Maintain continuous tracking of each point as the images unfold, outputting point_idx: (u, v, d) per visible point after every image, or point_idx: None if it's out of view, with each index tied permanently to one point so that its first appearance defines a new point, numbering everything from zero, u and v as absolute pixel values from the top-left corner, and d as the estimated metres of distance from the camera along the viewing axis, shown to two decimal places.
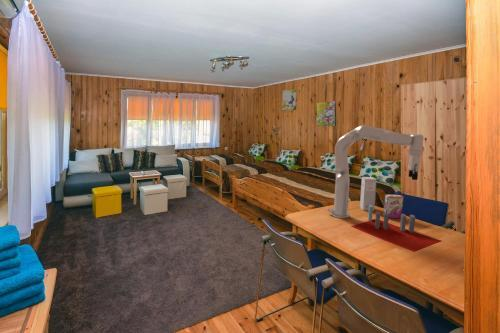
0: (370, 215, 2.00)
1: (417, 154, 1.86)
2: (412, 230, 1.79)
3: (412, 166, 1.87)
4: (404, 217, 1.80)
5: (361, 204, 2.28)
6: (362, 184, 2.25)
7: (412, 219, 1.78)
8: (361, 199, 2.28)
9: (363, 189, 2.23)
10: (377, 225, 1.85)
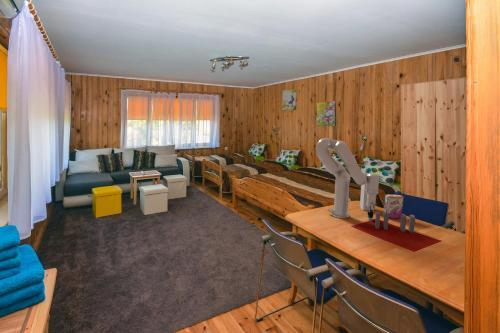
0: None
1: (373, 193, 1.96)
2: (412, 230, 1.79)
3: (368, 204, 1.97)
4: (404, 217, 1.80)
5: (361, 204, 2.28)
6: None
7: (412, 219, 1.78)
8: (361, 199, 2.28)
9: (363, 189, 2.23)
10: (377, 225, 1.85)
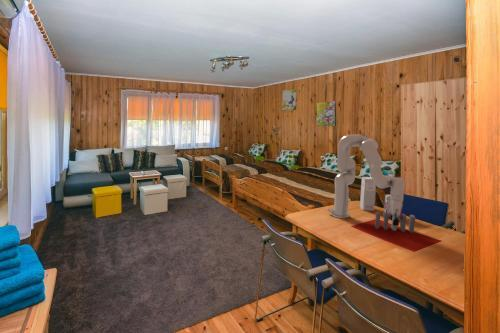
0: None
1: (398, 199, 1.78)
2: (412, 230, 1.79)
3: (393, 211, 1.79)
4: (404, 217, 1.80)
5: (361, 204, 2.28)
6: (362, 184, 2.25)
7: (412, 219, 1.78)
8: (361, 199, 2.28)
9: (363, 189, 2.23)
10: (377, 225, 1.85)
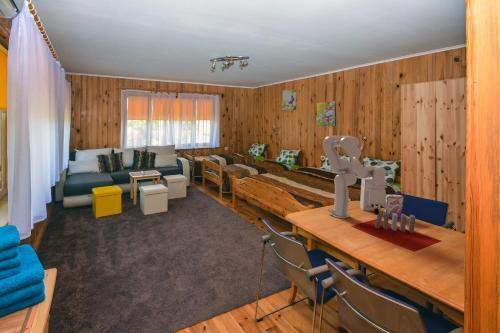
0: (394, 224, 1.82)
1: None
2: (412, 230, 1.79)
3: None
4: (404, 217, 1.80)
5: (361, 204, 2.28)
6: (362, 184, 2.25)
7: (412, 219, 1.78)
8: (361, 199, 2.28)
9: (363, 189, 2.23)
10: (378, 225, 1.85)
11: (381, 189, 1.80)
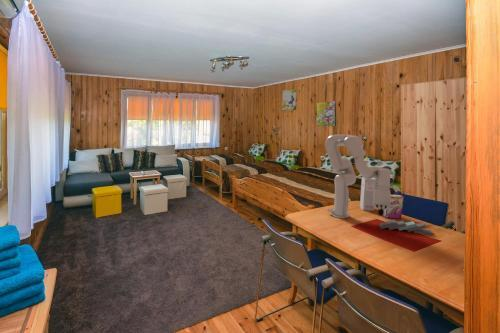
0: (404, 227, 1.81)
1: (376, 188, 1.84)
2: (416, 232, 1.79)
3: None
4: (423, 227, 1.77)
5: (361, 204, 2.28)
6: (362, 184, 2.25)
7: (429, 233, 1.77)
8: (361, 199, 2.28)
9: (363, 189, 2.23)
10: (384, 226, 1.84)
11: (386, 190, 1.80)
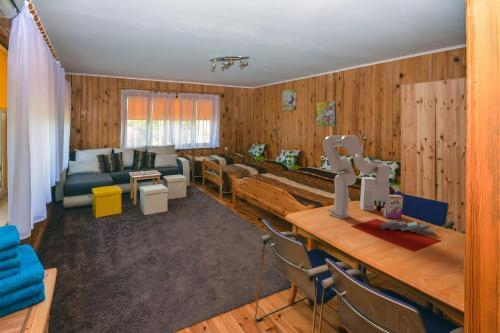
0: (407, 228, 1.80)
1: (375, 184, 1.84)
2: None
3: None
4: (426, 227, 1.75)
5: (361, 204, 2.28)
6: (362, 184, 2.25)
7: (432, 233, 1.76)
8: (361, 199, 2.28)
9: (363, 189, 2.23)
10: (385, 226, 1.84)
11: (385, 186, 1.80)
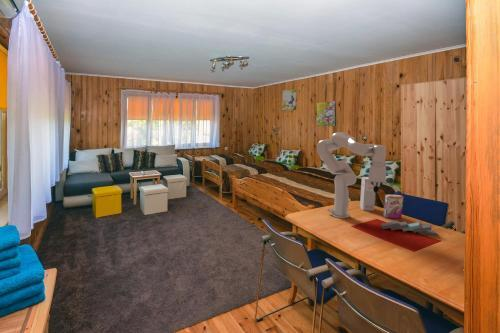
0: (409, 228, 1.79)
1: (372, 165, 1.83)
2: (421, 233, 1.78)
3: None
4: (429, 228, 1.74)
5: (361, 204, 2.28)
6: (362, 184, 2.25)
7: (434, 233, 1.75)
8: (361, 199, 2.28)
9: (363, 189, 2.23)
10: (385, 227, 1.83)
11: (381, 166, 1.79)
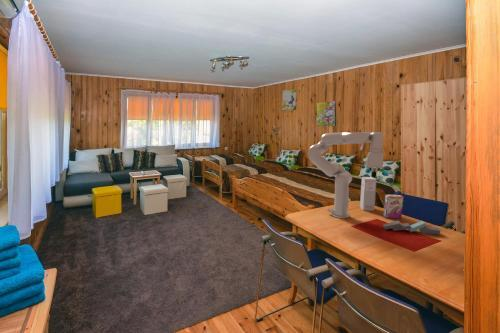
0: (415, 228, 1.78)
1: None
2: (424, 233, 1.78)
3: None
4: (438, 232, 1.74)
5: (361, 204, 2.28)
6: (362, 184, 2.25)
7: (437, 233, 1.76)
8: (361, 199, 2.28)
9: (363, 189, 2.23)
10: (387, 227, 1.83)
11: (378, 152, 1.89)
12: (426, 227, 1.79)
